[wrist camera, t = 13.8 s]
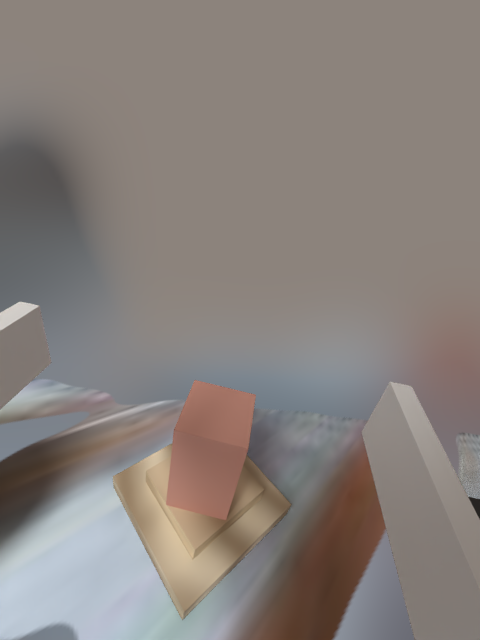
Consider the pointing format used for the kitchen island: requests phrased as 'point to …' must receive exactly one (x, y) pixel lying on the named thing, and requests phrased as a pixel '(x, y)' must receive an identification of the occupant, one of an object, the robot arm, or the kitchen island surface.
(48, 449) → the kitchen island surface
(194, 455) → the pillar
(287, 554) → the kitchen island surface
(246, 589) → the kitchen island surface
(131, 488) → the plinth
